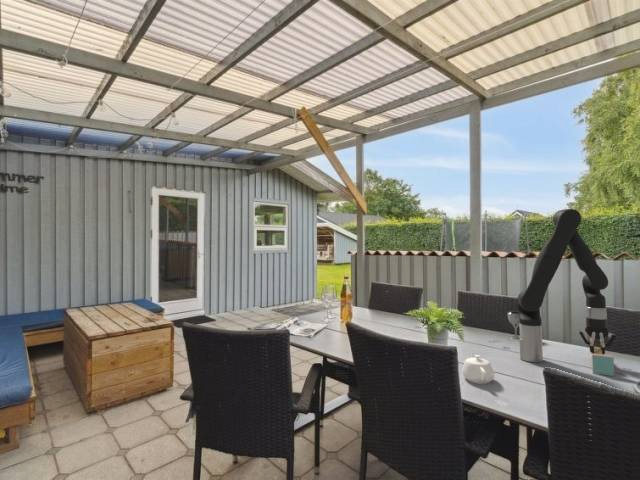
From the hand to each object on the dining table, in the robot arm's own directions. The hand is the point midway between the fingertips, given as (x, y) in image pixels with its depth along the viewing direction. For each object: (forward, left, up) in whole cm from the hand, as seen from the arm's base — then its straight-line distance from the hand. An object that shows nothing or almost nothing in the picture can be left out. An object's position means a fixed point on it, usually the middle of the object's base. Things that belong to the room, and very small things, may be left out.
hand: (597, 354), depth 154 cm
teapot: (-45, -44, -5) cm, 63 cm away
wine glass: (-34, +31, -5) cm, 46 cm away
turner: (0, -2, -1) cm, 3 cm away
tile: (0, -13, -1) cm, 13 cm away
